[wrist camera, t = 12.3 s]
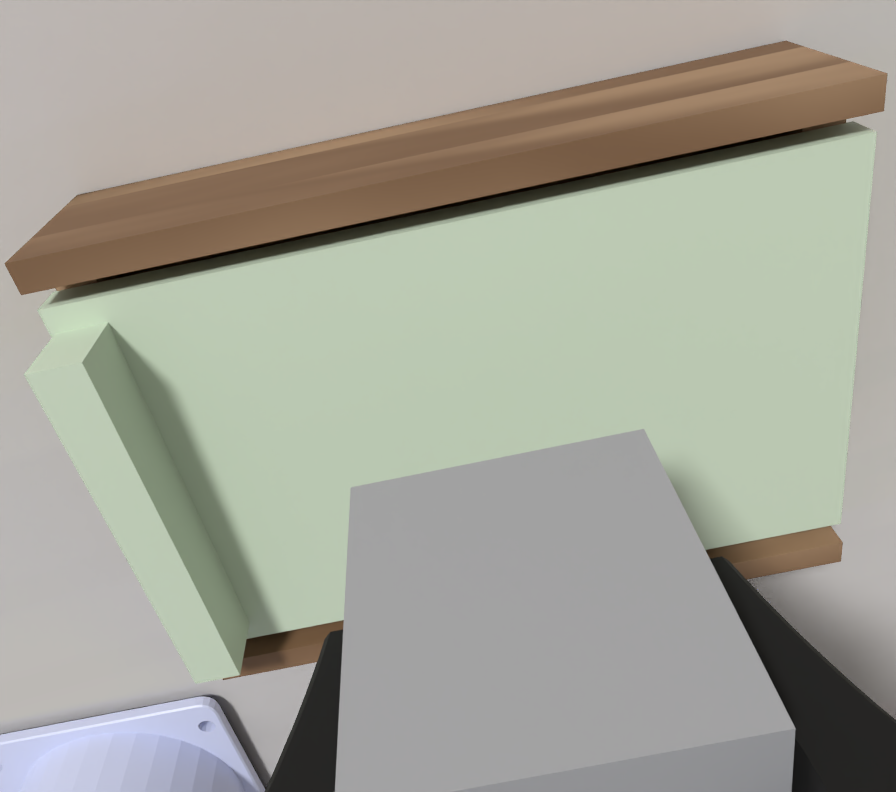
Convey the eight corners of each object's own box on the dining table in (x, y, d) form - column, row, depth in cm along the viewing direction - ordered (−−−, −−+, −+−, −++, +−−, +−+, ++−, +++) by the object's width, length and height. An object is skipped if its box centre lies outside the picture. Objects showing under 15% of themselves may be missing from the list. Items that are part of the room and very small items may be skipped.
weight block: (657, 616, 14) (782, 934, 9) (408, 663, 14) (421, 996, 10) (643, 428, 12) (796, 729, 7) (350, 487, 12) (334, 813, 8)
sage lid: (824, 501, 19) (875, 569, 17) (217, 620, 20) (199, 698, 18) (853, 121, 14) (929, 154, 12) (52, 292, 15) (3, 349, 13)
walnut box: (772, 465, 22) (840, 561, 19) (245, 569, 23) (223, 679, 19) (786, 41, 16) (887, 73, 13) (77, 195, 17) (4, 263, 14)
